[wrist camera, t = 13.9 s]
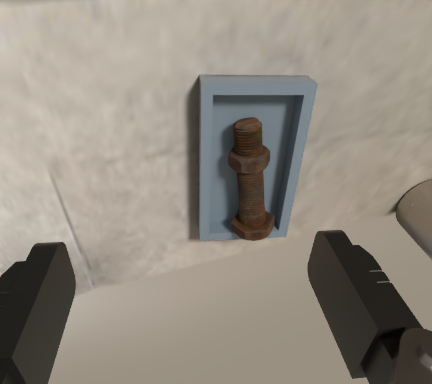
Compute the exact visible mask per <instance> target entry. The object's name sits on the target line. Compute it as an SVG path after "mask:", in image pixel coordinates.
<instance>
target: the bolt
mask: <svg viewBox="0 0 432 384" xmlns="http://www.w3.org/2000/svg"><path fill="white" fill-rule="evenodd" d="M233 129H234V130H233V132H234V133H233V134H234V143H235V144H234V145H235V147H233V148H232V149H231V151H230V152H229V155H228V165H229V166H230V167H231V168H232V169H233V170H234V171H236V172H237V182H238V195H239V210H238V211H237V213H236V215H235V216H234V218H233V219H232V221H231V229H232V230H233V231H234V233H235V234H236V235H238V236H239V237H240V238H242V239H245V240H252V241H255V240H260V239H263V238H266V237H268V236H269V235H270V233H271V231H272V229H273V226H274V223H275V216H274V215H272V214H271V213H269V212H267V211H266V210H265V206H264V205H265V203H264V174H263V170H264V169H266V168H267V166H268V164H269V162H270V150H269V149H268V148H267V147H266V146H264V145H263V144H262V142H263V141H262V123H261V121H259V119H258V118H255V117H250V118H242V119H240V120H237V121H236V122H235V123H234V124H233Z"/></svg>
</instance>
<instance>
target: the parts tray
mask: <svg viewBox="0 0 432 384" xmlns="http://www.w3.org/2000/svg"><path fill="white" fill-rule="evenodd" d="M317 84H318V83H316V82H315V81H314V80H313V79H311V78H310V77H309V76H281V75H199V197H198V228H199V239H200V241H208V240H229V239H242V238H240V237H239V236H238V235H236V234H235V233H234V231H233V230H232V229H231V221H232V219H233V218H234V216H235V215H236V213H237V211H238V210H239V195H238V182H237V172H236V171H234V170H233V169H232V168H231V167H230V166H229V165H228V155H229V152H230V151H231V149H232V148H233V147H235V145H234V144H235V143H234V134H233V133H234V132H233V130H234V129H233V124H234V123H235V122H236V121H237V120H240V119H242V118H250V117H255V118H258V119H259V121H261V123H262V141H263V142H262V144H263V145H264V146H266V147H267V148H268V149H269V150H270V162H269V164H268V166H267V168H266V169H264V170H263V174H264V203H265V205H264V206H265V210H266V211H267V212H269V213H271V214H272V215H274V216H275V223H274V226H273V229H272V231H271V233H270V235H269V236H268V237H266V238H271V237H286V234H287V230H288V225H289V220H290V215H291V210H292V205H293V201H294V196H295V191H296V186H297V181H298V176H299V171H300V167H301V162H302V157H303V152H304V147H305V142H306V138H307V133H308V128H309V123H310V118H311V113H312V109H313V104H314V99H315V94H316V89H317Z"/></svg>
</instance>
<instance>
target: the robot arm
mask: <svg viewBox="0 0 432 384" xmlns="http://www.w3.org/2000/svg"><path fill="white" fill-rule="evenodd" d="M396 218H397V221H398V222H399V224H400V225H401V226H402V227H403V228H404V229H405V230H406V231H407V233H408V234H409V235H410V236H411V237H412V238H413V239H414V240H415V242H416V243H417V244H418V245H419V246H420V247H421V248H422V250H423V251H424V252H425V253H426V254H427V255H428V256H429V257H430V258H431V260H432V180H428V181H426V182H423V183H421V184H419V185H417V186H416V187H414V188H413V189H411V190H410V191H409V192H408V193H407V194H406V195H405V196H404V197H403V198H402V199H401V201H400V203H399V204H398V207H397V210H396ZM308 277H309V281H310V283H311V285H312V288H313V290H314V292H315V295H316V297H317V299H318V301H319V304H320V306H321V308H322V311H323V313H324V315H325V317H326V320H327V322H328V324H329V327H330V329H331V331H332V333H333V336H334V338H335V340H336V343H337V345H338V347H339V349H340V351H341V354H342V356H343V359H344V361H345V363H346V365H347V368H348V370H349V372H350V375H351V377H352V379H353V378H363V377H367V379H368V382H369V384H432V331H430V330H427V329H424V328H423V327H422V326H421V325H420V323H419V322H418V321H417V319H416V318H415V316H414V315H413V313H412V312H411V310H410V309H409V307H408V306H407V305H406V303H405V302H404V300H403V299H402V297H401V296H400V295H399V293H398V292H397V290H396V289H395V287H394V286H393V284H392V283H390V282H389V279H388V277H387V276H386V274H385V273H384V272H382V269H381V267H380V266H379V264H378V263H377V262H376V260H375V259H374V258H373V256H372V255H371V254H369V253H368V252H367V251H366V250H364V249H363V248H362V247H361V246H359V245H352V243H351V242H350V240H349V239H348V237H347V235H346V234H345V233H344V232H343V231H342V230H331V231H318V232H317V234H316V236H315V240H314V243H313V247H312V251H311V254H310V258H309V262H308ZM75 287H76V281H75V275H74V271H73V268H72V265H71V261H70V258H69V255H68V251H67V248H66V245H65V244H64V243H63V242H53V243H36V244H35V245H34V246H33V247H32V249H31V251H30V253H29V255H28V257H27V259H26V261H21V262H15V263H14V264H13V265H12V266H11V267H10V268H9V269H8V270H7V271H6V272H5V273H3V274H2V275H1V277H0V384H48V381H49V378H50V374H51V371H52V368H53V364H54V361H55V357H56V355H57V351H58V348H59V345H60V341H61V338H62V335H63V331H64V328H65V324H66V322H67V318H68V315H69V312H70V308H71V305H72V302H73V298H74V295H75Z"/></svg>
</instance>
